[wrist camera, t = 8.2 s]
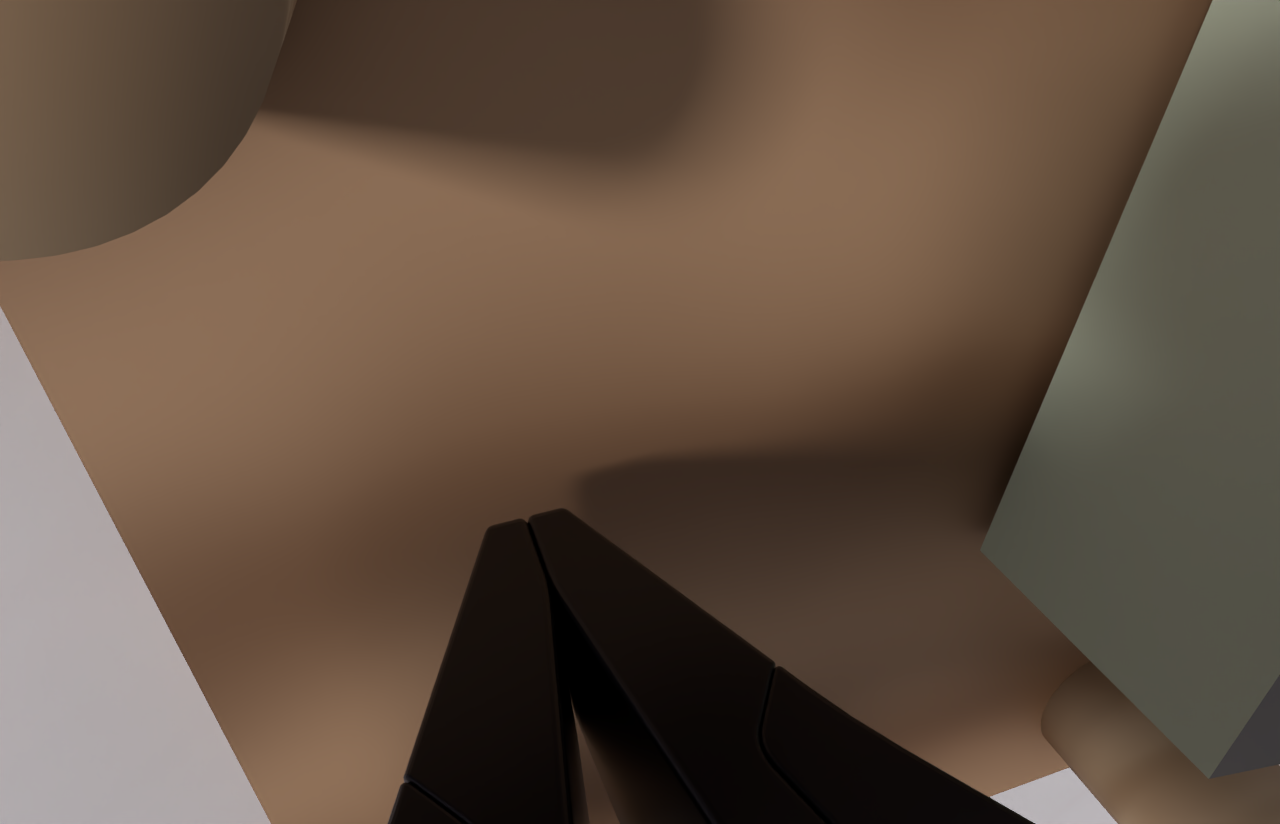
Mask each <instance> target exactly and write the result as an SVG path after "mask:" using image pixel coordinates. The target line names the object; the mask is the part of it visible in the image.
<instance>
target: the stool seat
mask: <svg viewBox="0 0 1280 824" xmlns="http://www.w3.org/2000/svg"><path fill="white" fill-rule="evenodd" d="M1211 3H1212V0H0V306H1V308H2V310H3V312H4V314H5V316H6V318H7V319H8V321H9V323H10V325H11V327H12V329H13V331H14V333H15V335H16V337H17V339H18V341H19V342H20V344H21V346H22V348H23V350H24V352H25V354H26V356H27V358H28V360H29V362H30V363H31V365H32V367H33V369H34V371H35V373H36V375H37V377H38V379H39V381H40V383H41V385H42V386H43V388H44V390H45V392H46V394H47V396H48V398H49V400H50V402H51V404H52V406H53V407H54V409H55V411H56V413H57V415H58V417H59V419H60V421H61V423H62V425H63V427H64V428H65V430H66V432H67V434H68V436H69V438H70V440H71V442H72V444H73V446H74V448H75V450H76V451H77V453H78V455H79V457H80V459H81V461H82V463H83V465H84V467H85V469H86V471H87V472H88V474H89V476H90V478H91V480H92V482H93V484H94V486H95V488H96V490H97V492H98V493H99V495H100V497H101V499H102V501H103V503H104V505H105V507H106V509H107V511H108V513H109V515H110V516H111V518H112V520H113V522H114V524H115V526H116V528H117V530H118V532H119V534H120V536H121V537H122V539H123V541H124V543H125V545H126V547H127V549H128V551H129V553H130V555H131V557H132V558H133V560H134V562H135V564H136V566H137V568H138V570H139V572H140V574H141V576H142V578H143V580H144V581H145V583H146V585H147V587H148V589H149V591H150V593H151V595H152V597H153V599H154V601H155V602H156V604H157V606H158V608H159V610H160V612H161V614H162V616H163V618H164V620H165V622H166V624H167V625H168V627H169V629H170V631H171V633H172V635H173V637H174V639H175V641H176V643H177V645H178V646H179V648H180V650H181V652H182V654H183V656H184V658H185V660H186V662H187V664H188V666H189V667H190V669H191V671H192V673H193V675H194V677H195V679H196V681H197V683H198V685H199V687H200V689H201V690H202V692H203V694H204V696H205V698H206V700H207V702H208V704H209V706H210V708H211V710H212V711H213V713H214V715H215V717H216V719H217V721H218V723H219V725H220V727H221V729H222V731H223V732H224V734H225V736H226V738H227V740H228V742H229V744H230V746H231V748H232V750H233V752H234V754H235V755H236V757H237V759H238V761H239V763H240V765H241V767H242V769H243V771H244V773H245V775H246V776H247V778H248V780H249V782H250V784H251V786H252V788H253V790H254V792H255V794H256V796H257V798H258V799H259V801H260V803H261V805H262V807H263V809H264V811H265V813H266V815H267V817H268V819H269V820H270V822H271V824H387V823H388V820H389V817H390V814H391V811H392V808H393V805H394V802H395V799H396V796H397V793H398V790H399V787H400V785H401V784H402V783H404V779H403V777H404V774H405V771H406V768H407V765H408V762H409V759H410V756H411V753H412V750H413V747H414V744H415V741H416V738H417V735H418V732H419V729H420V726H421V723H422V720H423V717H424V714H425V711H426V708H427V705H428V702H429V699H430V696H431V693H432V690H433V687H434V684H435V681H436V678H437V675H438V672H439V669H440V666H441V663H442V660H443V657H444V654H445V651H446V648H447V645H448V642H449V639H450V636H451V633H452V630H453V627H454V624H455V621H456V618H457V615H458V612H459V609H460V606H461V603H462V600H463V597H464V594H465V591H466V588H467V585H468V582H469V579H470V576H471V573H472V570H473V567H474V564H475V561H476V558H477V555H478V552H479V549H480V546H481V543H482V540H483V537H484V534H485V532H486V530H487V528H488V527H490V526H492V525H495V524H499V523H503V522H507V521H511V520H515V519H520V518H521V519H524V520H525V521H526V522H527V524H528V519H529V517H530V516H532V515H535V514H539V513H542V512H546V511H550V510H554V509H558V508H564V509H567V510H569V511H570V512H572V513H573V514H574V515H576V516H577V517H578V518H580V519H581V520H582V521H584V522H585V523H586V524H588V525H589V526H591V527H592V528H593V529H595V530H596V531H597V532H599V533H600V534H601V535H603V536H604V537H606V538H607V539H608V540H610V541H611V542H612V543H614V544H615V545H616V546H618V547H619V548H621V549H622V550H623V551H625V552H626V553H627V554H629V555H630V556H631V557H633V558H634V559H635V560H637V561H638V562H640V563H641V564H642V565H644V566H645V567H646V568H648V569H649V570H650V571H652V572H653V573H655V574H656V575H657V576H659V577H660V578H661V579H663V580H664V581H665V582H667V583H668V584H670V585H671V586H672V587H674V588H675V589H676V590H678V591H679V592H680V593H682V594H683V595H684V596H686V597H687V598H689V599H690V600H691V601H693V602H694V603H695V604H697V605H698V606H699V607H701V608H702V609H704V610H705V611H706V612H708V613H709V614H710V615H712V616H713V617H714V618H716V619H717V620H718V621H720V622H721V623H723V624H724V625H725V626H727V627H728V628H729V629H731V630H732V631H733V632H735V633H736V634H738V635H739V636H740V637H742V638H743V639H744V640H746V641H747V642H748V643H750V644H751V645H753V646H754V647H755V648H757V649H758V650H759V651H761V652H762V653H763V654H765V655H766V656H767V657H769V658H770V659H772V660H773V661H774V662H775V664H776V667H778V666H781V667H783V668H784V669H786V670H787V671H788V672H790V673H791V674H792V675H794V676H795V677H796V678H798V679H799V680H801V681H802V682H803V683H805V684H806V685H807V686H809V687H810V688H812V689H813V690H815V691H816V692H817V693H819V694H820V695H822V696H823V697H825V698H826V699H828V700H829V701H830V702H832V703H833V704H835V705H836V706H838V707H839V708H841V709H842V710H843V711H845V712H846V713H848V714H849V715H851V716H852V717H854V718H856V719H857V720H859V721H860V722H862V723H864V724H865V725H867V726H869V727H870V728H872V729H873V730H875V731H877V732H878V733H880V734H882V735H883V736H885V737H887V738H888V739H890V740H891V741H893V742H895V743H896V744H898V745H900V746H901V747H903V748H905V749H906V750H908V751H910V752H912V753H913V754H915V755H917V756H918V757H920V758H922V759H924V760H925V761H927V762H929V763H931V764H932V765H934V766H936V767H938V768H939V769H941V770H943V771H944V772H946V773H948V774H950V775H951V776H953V777H955V778H957V779H958V780H960V781H962V782H964V783H965V784H967V785H969V786H970V787H972V788H974V789H976V790H977V791H979V792H981V793H983V794H984V795H986V796H988V797H990V796H993V795H995V794H998V793H1001V792H1004V791H1006V790H1009V789H1012V788H1014V787H1017V786H1020V785H1023V784H1025V783H1028V782H1031V781H1034V780H1036V779H1039V778H1042V777H1044V776H1047V775H1050V774H1053V773H1055V772H1058V771H1061V770H1064V769H1066V768H1069V767H1070V768H1071V769H1072V771H1073V772H1074V773H1075V774H1076V775H1077V776H1078V778H1079V779H1080V780H1081V781H1082V782H1083V783H1084V785H1085V786H1086V787H1087V788H1088V789H1089V790H1090V792H1091V793H1092V794H1093V795H1094V796H1095V798H1096V799H1097V800H1098V801H1099V802H1100V803H1101V805H1102V806H1103V807H1104V808H1105V809H1106V810H1107V812H1108V813H1109V814H1110V815H1111V816H1112V817H1113V819H1114V820H1115V821H1116V822H1117V823H1118V824H1280V766H1279V765H1274V766H1269V767H1264V768H1260V769H1255V770H1250V771H1245V772H1240V773H1235V774H1231V775H1226V776H1221V777H1216V778H1211V779H1208V778H1207V777H1206V776H1205V775H1204V774H1203V773H1202V772H1201V771H1200V770H1199V769H1198V768H1197V767H1196V766H1195V765H1194V764H1193V763H1192V762H1191V761H1190V760H1189V759H1188V758H1187V757H1186V756H1185V755H1184V754H1183V753H1182V752H1181V751H1180V750H1179V749H1178V748H1177V747H1176V746H1175V745H1174V744H1173V743H1172V742H1171V741H1170V740H1169V739H1168V738H1167V737H1166V736H1165V735H1164V734H1163V733H1162V732H1161V731H1160V730H1159V729H1158V728H1157V727H1156V726H1155V725H1154V724H1153V723H1152V722H1151V721H1150V720H1149V719H1148V718H1147V717H1146V716H1145V715H1144V714H1143V713H1142V712H1141V711H1140V710H1139V709H1138V708H1137V707H1136V706H1135V705H1134V704H1133V703H1132V702H1131V701H1130V700H1129V699H1128V698H1127V697H1126V696H1125V695H1124V694H1123V693H1122V692H1121V691H1120V690H1119V689H1118V688H1117V687H1116V686H1115V685H1114V684H1113V683H1112V682H1111V681H1110V680H1109V679H1108V678H1107V677H1106V676H1105V675H1104V674H1103V673H1102V672H1101V671H1100V670H1099V669H1098V668H1097V667H1096V666H1095V665H1094V664H1093V663H1092V662H1091V661H1090V660H1089V659H1088V658H1087V657H1086V656H1085V655H1084V654H1083V653H1082V652H1081V651H1080V650H1079V649H1078V648H1077V647H1076V646H1075V645H1074V644H1073V643H1072V642H1071V641H1070V640H1069V639H1068V638H1067V637H1066V636H1065V635H1064V634H1063V633H1062V632H1061V631H1060V630H1059V629H1058V628H1057V627H1056V626H1055V625H1054V624H1053V623H1052V622H1051V621H1050V620H1049V619H1048V618H1047V617H1046V616H1045V615H1044V614H1043V613H1042V612H1041V611H1040V610H1039V609H1038V608H1037V607H1036V606H1035V605H1034V604H1033V603H1032V602H1031V601H1030V600H1029V599H1028V598H1027V597H1026V596H1025V595H1024V594H1023V593H1022V592H1021V591H1020V590H1019V589H1018V588H1017V587H1016V586H1015V585H1014V584H1013V583H1012V582H1011V581H1010V580H1009V579H1008V578H1007V577H1006V576H1005V575H1004V574H1003V573H1002V572H1001V571H1000V570H999V569H998V568H997V567H996V566H995V565H994V564H993V563H992V562H991V561H990V560H989V559H988V558H987V557H986V556H985V555H984V554H983V553H982V552H981V551H980V549H981V547H982V544H983V542H984V539H985V537H986V535H987V532H988V530H989V528H990V525H991V523H992V521H993V518H994V516H995V513H996V511H997V509H998V506H999V504H1000V502H1001V499H1002V497H1003V495H1004V492H1005V490H1006V487H1007V485H1008V483H1009V480H1010V478H1011V476H1012V473H1013V471H1014V468H1015V466H1016V464H1017V461H1018V459H1019V457H1020V454H1021V452H1022V450H1023V447H1024V445H1025V442H1026V440H1027V438H1028V435H1029V433H1030V431H1031V428H1032V426H1033V424H1034V421H1035V419H1036V416H1037V414H1038V412H1039V409H1040V407H1041V405H1042V402H1043V400H1044V398H1045V395H1046V393H1047V390H1048V388H1049V386H1050V383H1051V381H1052V379H1053V376H1054V374H1055V372H1056V369H1057V367H1058V364H1059V362H1060V360H1061V357H1062V355H1063V353H1064V350H1065V348H1066V346H1067V343H1068V341H1069V338H1070V336H1071V334H1072V331H1073V329H1074V327H1075V324H1076V322H1077V320H1078V317H1079V315H1080V312H1081V310H1082V308H1083V305H1084V303H1085V301H1086V298H1087V296H1088V294H1089V291H1090V289H1091V286H1092V284H1093V282H1094V279H1095V277H1096V275H1097V272H1098V270H1099V268H1100V265H1101V263H1102V260H1103V258H1104V256H1105V253H1106V251H1107V249H1108V246H1109V244H1110V242H1111V239H1112V237H1113V234H1114V232H1115V230H1116V227H1117V225H1118V223H1119V220H1120V218H1121V216H1122V213H1123V211H1124V208H1125V206H1126V204H1127V201H1128V199H1129V197H1130V194H1131V192H1132V190H1133V187H1134V185H1135V182H1136V180H1137V178H1138V175H1139V173H1140V171H1141V168H1142V166H1143V164H1144V161H1145V159H1146V156H1147V154H1148V152H1149V149H1150V147H1151V145H1152V142H1153V140H1154V137H1155V135H1156V133H1157V130H1158V128H1159V126H1160V123H1161V121H1162V119H1163V116H1164V114H1165V111H1166V109H1167V107H1168V104H1169V102H1170V100H1171V97H1172V95H1173V93H1174V90H1175V88H1176V85H1177V83H1178V81H1179V78H1180V76H1181V74H1182V71H1183V69H1184V67H1185V64H1186V62H1187V59H1188V57H1189V55H1190V52H1191V50H1192V48H1193V45H1194V43H1195V41H1196V38H1197V36H1198V33H1199V31H1200V29H1201V26H1202V24H1203V22H1204V19H1205V17H1206V15H1207V12H1208V10H1209V7H1210V5H1211ZM572 708H573V706H572ZM573 713H574V719H575V724H576V730H577V736H578V742H579V749H580V757H581V764H582V771H583V779H584V786H585V793H586V800H587V808H588V815H589V822H590V824H620V823H619V820H618V818H617V815H616V813H615V811H614V808H613V806H612V804H611V801H610V799H609V796H608V794H607V792H606V789H605V787H604V785H603V782H602V780H601V777H600V775H599V773H598V770H597V768H596V766H595V763H594V761H593V758H592V756H591V754H590V751H589V749H588V747H587V744H586V742H585V739H584V737H583V734H582V732H581V729H580V726H579V724H578V721H577V719H576V715H575V712H574V709H573Z"/></svg>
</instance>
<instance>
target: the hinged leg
mask: <svg viewBox="0 0 1280 824" xmlns="http://www.w3.org/2000/svg"><path fill="white" fill-rule="evenodd" d="M980 551H981V552H982V553H983V554H984V555H985V556H986V557H987V558H988V559H989V560H990V561H991V562H992V563H993V564H994V565H995V566H996V567H997V568H998V569H999V570H1000V571H1001V572H1002V573H1003V574H1004V575H1005V576H1006V577H1007V578H1008V579H1009V580H1010V581H1011V582H1012V583H1013V584H1014V585H1015V586H1016V587H1017V588H1018V589H1019V590H1020V591H1021V592H1022V593H1023V594H1024V595H1025V596H1026V597H1027V598H1028V599H1029V600H1030V601H1031V602H1032V603H1033V604H1034V605H1035V606H1036V607H1037V608H1038V609H1039V610H1040V611H1041V612H1042V613H1043V614H1044V615H1045V616H1046V617H1047V618H1048V619H1049V620H1050V621H1051V622H1052V623H1053V624H1054V625H1055V626H1056V627H1057V628H1058V629H1059V630H1060V631H1061V632H1062V633H1063V634H1064V635H1065V636H1066V637H1067V638H1068V639H1069V640H1070V641H1071V642H1072V643H1073V644H1074V645H1075V646H1076V647H1077V648H1078V649H1079V650H1080V651H1081V652H1082V653H1083V654H1084V655H1085V656H1086V657H1087V658H1088V659H1089V660H1090V661H1091V662H1092V663H1093V664H1094V665H1095V666H1096V667H1097V668H1098V669H1099V670H1100V671H1101V672H1102V673H1103V674H1104V675H1105V676H1106V677H1107V678H1108V679H1109V680H1110V681H1111V682H1112V683H1113V684H1114V685H1115V686H1116V687H1117V688H1118V689H1119V690H1120V691H1121V692H1122V693H1123V694H1124V695H1125V696H1126V697H1127V698H1128V699H1129V700H1130V701H1131V702H1132V703H1133V704H1134V705H1135V706H1136V707H1137V708H1138V709H1139V710H1140V711H1141V712H1142V713H1143V714H1144V715H1145V716H1146V717H1147V718H1148V719H1149V720H1150V721H1151V722H1152V723H1153V724H1154V725H1155V726H1156V727H1157V728H1158V729H1159V730H1160V731H1161V732H1162V733H1163V734H1164V735H1165V736H1166V737H1167V738H1168V739H1169V740H1170V741H1171V742H1172V743H1173V744H1174V745H1175V746H1176V747H1177V748H1178V749H1179V750H1180V751H1181V752H1182V753H1183V754H1184V755H1185V756H1186V757H1187V758H1188V759H1189V760H1190V761H1191V762H1192V763H1193V764H1194V765H1195V766H1196V767H1197V768H1198V769H1199V770H1200V771H1201V772H1202V773H1203V774H1204V775H1205V776H1206V777H1207V778H1208V779H1211V778H1216V777H1221V776H1226V775H1231V774H1235V773H1240V772H1245V771H1250V770H1255V769H1260V768H1264V767H1269V766H1274V765H1279V764H1280V0H1212V3H1211V5H1210V7H1209V10H1208V12H1207V15H1206V17H1205V19H1204V22H1203V24H1202V26H1201V29H1200V31H1199V33H1198V36H1197V38H1196V41H1195V43H1194V45H1193V48H1192V50H1191V52H1190V55H1189V57H1188V59H1187V62H1186V64H1185V67H1184V69H1183V71H1182V74H1181V76H1180V78H1179V81H1178V83H1177V85H1176V88H1175V90H1174V93H1173V95H1172V97H1171V100H1170V102H1169V104H1168V107H1167V109H1166V111H1165V114H1164V116H1163V119H1162V121H1161V123H1160V126H1159V128H1158V130H1157V133H1156V135H1155V137H1154V140H1153V142H1152V145H1151V147H1150V149H1149V152H1148V154H1147V156H1146V159H1145V161H1144V164H1143V166H1142V168H1141V171H1140V173H1139V175H1138V178H1137V180H1136V182H1135V185H1134V187H1133V190H1132V192H1131V194H1130V197H1129V199H1128V201H1127V204H1126V206H1125V208H1124V211H1123V213H1122V216H1121V218H1120V220H1119V223H1118V225H1117V227H1116V230H1115V232H1114V234H1113V237H1112V239H1111V242H1110V244H1109V246H1108V249H1107V251H1106V253H1105V256H1104V258H1103V260H1102V263H1101V265H1100V268H1099V270H1098V272H1097V275H1096V277H1095V279H1094V282H1093V284H1092V286H1091V289H1090V291H1089V294H1088V296H1087V298H1086V301H1085V303H1084V305H1083V308H1082V310H1081V312H1080V315H1079V317H1078V320H1077V322H1076V324H1075V327H1074V329H1073V331H1072V334H1071V336H1070V338H1069V341H1068V343H1067V346H1066V348H1065V350H1064V353H1063V355H1062V357H1061V360H1060V362H1059V364H1058V367H1057V369H1056V372H1055V374H1054V376H1053V379H1052V381H1051V383H1050V386H1049V388H1048V390H1047V393H1046V395H1045V398H1044V400H1043V402H1042V405H1041V407H1040V409H1039V412H1038V414H1037V416H1036V419H1035V421H1034V424H1033V426H1032V428H1031V431H1030V433H1029V435H1028V438H1027V440H1026V442H1025V445H1024V447H1023V450H1022V452H1021V454H1020V457H1019V459H1018V461H1017V464H1016V466H1015V468H1014V471H1013V473H1012V476H1011V478H1010V480H1009V483H1008V485H1007V487H1006V490H1005V492H1004V495H1003V497H1002V499H1001V502H1000V504H999V506H998V509H997V511H996V513H995V516H994V518H993V521H992V523H991V525H990V528H989V530H988V532H987V535H986V537H985V539H984V542H983V544H982V547H981V549H980Z"/></svg>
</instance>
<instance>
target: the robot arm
mask: <svg viewBox="0 0 1280 824" xmlns="http://www.w3.org/2000/svg"><path fill="white" fill-rule="evenodd" d="M572 706H573V708H572ZM573 709H574V712H575V715H576V719H577V721H578V724H579V726H580V729H581V732H582V734H583V737H584V739H585V742H586V744H587V747H588V749H589V751H590V754H591V756H592V758H593V761H594V763H595V766H596V768H597V770H598V773H599V775H600V777H601V780H602V782H603V785H604V787H605V789H606V792H607V794H608V796H609V799H610V801H611V804H612V806H613V808H614V811H615V813H616V815H617V818H618V820H619V823H620V824H1035V823H1033V822H1031V821H1029V820H1028V819H1026V818H1024V817H1022V816H1021V815H1019V814H1017V813H1016V812H1014V811H1012V810H1010V809H1009V808H1007V807H1005V806H1003V805H1002V804H1000V803H998V802H996V801H995V800H993V799H991V798H990V797H988V796H986V795H984V794H983V793H981V792H979V791H977V790H976V789H974V788H972V787H970V786H969V785H967V784H965V783H964V782H962V781H960V780H958V779H957V778H955V777H953V776H951V775H950V774H948V773H946V772H944V771H943V770H941V769H939V768H938V767H936V766H934V765H932V764H931V763H929V762H927V761H925V760H924V759H922V758H920V757H918V756H917V755H915V754H913V753H912V752H910V751H908V750H906V749H905V748H903V747H901V746H900V745H898V744H896V743H895V742H893V741H891V740H890V739H888V738H887V737H885V736H883V735H882V734H880V733H878V732H877V731H875V730H873V729H872V728H870V727H869V726H867V725H865V724H864V723H862V722H860V721H859V720H857V719H856V718H854V717H852V716H851V715H849V714H848V713H846V712H845V711H843V710H842V709H841V708H839V707H838V706H836V705H835V704H833V703H832V702H830V701H829V700H828V699H826V698H825V697H823V696H822V695H820V694H819V693H817V692H816V691H815V690H813V689H812V688H810V687H809V686H807V685H806V684H805V683H803V682H802V681H801V680H799V679H798V678H796V677H795V676H794V675H792V674H791V673H790V672H788V671H787V670H786V669H784V668H783V667H781V666H778V667H776V664H775V662H774V661H773V660H772V659H770V658H769V657H767V656H766V655H765V654H763V653H762V652H761V651H759V650H758V649H757V648H755V647H754V646H753V645H751V644H750V643H748V642H747V641H746V640H744V639H743V638H742V637H740V636H739V635H738V634H736V633H735V632H733V631H732V630H731V629H729V628H728V627H727V626H725V625H724V624H723V623H721V622H720V621H718V620H717V619H716V618H714V617H713V616H712V615H710V614H709V613H708V612H706V611H705V610H704V609H702V608H701V607H699V606H698V605H697V604H695V603H694V602H693V601H691V600H690V599H689V598H687V597H686V596H684V595H683V594H682V593H680V592H679V591H678V590H676V589H675V588H674V587H672V586H671V585H670V584H668V583H667V582H665V581H664V580H663V579H661V578H660V577H659V576H657V575H656V574H655V573H653V572H652V571H650V570H649V569H648V568H646V567H645V566H644V565H642V564H641V563H640V562H638V561H637V560H635V559H634V558H633V557H631V556H630V555H629V554H627V553H626V552H625V551H623V550H622V549H621V548H619V547H618V546H616V545H615V544H614V543H612V542H611V541H610V540H608V539H607V538H606V537H604V536H603V535H601V534H600V533H599V532H597V531H596V530H595V529H593V528H592V527H591V526H589V525H588V524H586V523H585V522H584V521H582V520H581V519H580V518H578V517H577V516H576V515H574V514H573V513H572V512H570V511H569V510H567V509H564V508H558V509H554V510H550V511H546V512H542V513H539V514H535V515H532V516H530V517H529V519H528V524H527V522H526V521H525V520H524V519H521V518H520V519H515V520H511V521H507V522H503V523H499V524H495V525H492V526H490V527H488V528H487V530H486V532H485V534H484V537H483V540H482V543H481V546H480V549H479V552H478V555H477V558H476V561H475V564H474V567H473V570H472V573H471V576H470V579H469V582H468V585H467V588H466V591H465V594H464V597H463V600H462V603H461V606H460V609H459V612H458V615H457V618H456V621H455V624H454V627H453V630H452V633H451V636H450V639H449V642H448V645H447V648H446V651H445V654H444V657H443V660H442V663H441V666H440V669H439V672H438V675H437V678H436V681H435V684H434V687H433V690H432V693H431V696H430V699H429V702H428V705H427V708H426V711H425V714H424V717H423V720H422V723H421V726H420V729H419V732H418V735H417V738H416V741H415V744H414V747H413V750H412V753H411V756H410V759H409V762H408V765H407V768H406V771H405V774H404V777H403V779H404V783H402V784H401V785H400V787H399V790H398V793H397V796H396V799H395V802H394V805H393V808H392V811H391V814H390V817H389V820H388V823H387V824H590V822H589V815H588V808H587V800H586V793H585V786H584V779H583V771H582V764H581V757H580V749H579V742H578V736H577V730H576V724H575V719H574V713H573Z"/></svg>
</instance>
